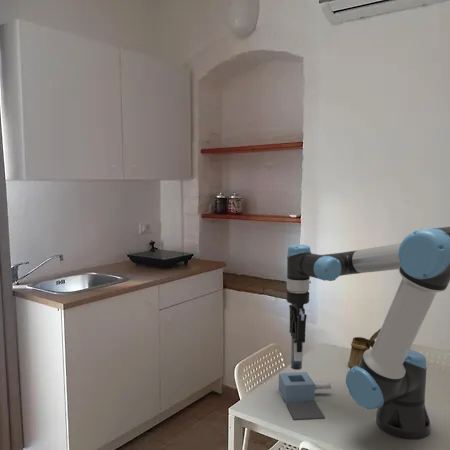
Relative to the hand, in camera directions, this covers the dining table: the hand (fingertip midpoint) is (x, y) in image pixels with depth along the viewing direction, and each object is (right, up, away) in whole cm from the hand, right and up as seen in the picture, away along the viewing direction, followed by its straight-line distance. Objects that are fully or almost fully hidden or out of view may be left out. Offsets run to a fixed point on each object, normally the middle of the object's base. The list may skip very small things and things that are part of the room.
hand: (296, 357), depth 154 cm
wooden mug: (+31, -12, +24) cm, 41 cm away
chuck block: (+4, -13, +1) cm, 14 cm away
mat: (+1, -14, -10) cm, 17 cm away
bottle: (0, -3, 0) cm, 3 cm away
